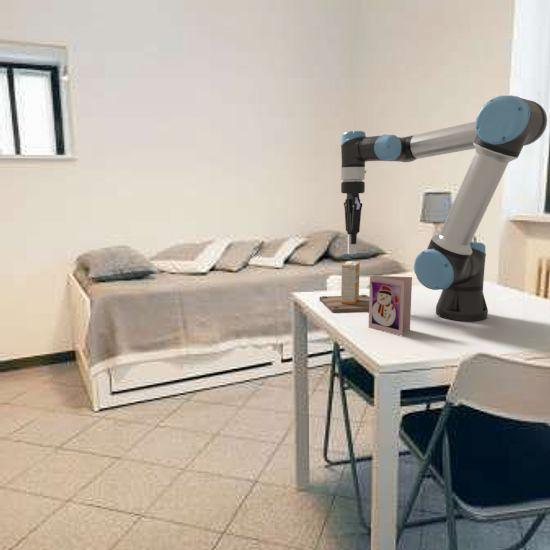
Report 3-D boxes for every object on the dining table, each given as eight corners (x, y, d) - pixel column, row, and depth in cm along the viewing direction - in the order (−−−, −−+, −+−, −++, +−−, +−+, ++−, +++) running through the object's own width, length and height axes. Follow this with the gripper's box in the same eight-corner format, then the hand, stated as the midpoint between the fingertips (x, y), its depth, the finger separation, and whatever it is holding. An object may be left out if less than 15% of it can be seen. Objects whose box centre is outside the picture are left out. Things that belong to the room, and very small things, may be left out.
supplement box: (355, 304, 173) (356, 265, 170) (340, 303, 174) (341, 264, 172) (359, 299, 180) (360, 261, 178) (345, 298, 182) (346, 260, 179)
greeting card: (366, 328, 150) (368, 276, 147) (382, 323, 155) (384, 272, 152) (400, 336, 141) (402, 281, 139) (416, 331, 146) (418, 278, 144)
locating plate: (383, 310, 170) (383, 305, 169) (332, 312, 167) (332, 307, 167) (366, 298, 187) (366, 294, 187) (319, 300, 185) (319, 295, 185)
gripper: (370, 180, 164) (369, 255, 168) (358, 181, 177) (357, 251, 181) (347, 180, 163) (346, 256, 167) (336, 181, 176) (336, 251, 180)
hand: (352, 253), depth 174 cm, fingers closed
